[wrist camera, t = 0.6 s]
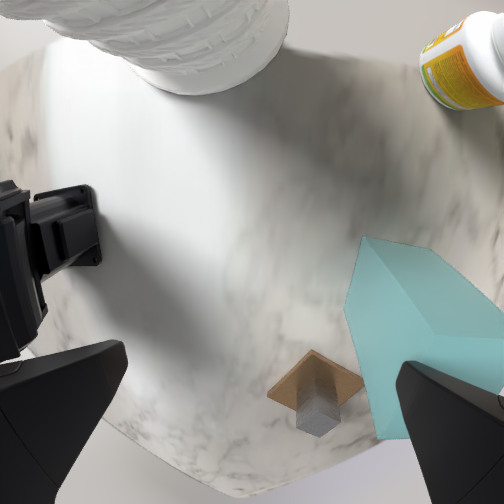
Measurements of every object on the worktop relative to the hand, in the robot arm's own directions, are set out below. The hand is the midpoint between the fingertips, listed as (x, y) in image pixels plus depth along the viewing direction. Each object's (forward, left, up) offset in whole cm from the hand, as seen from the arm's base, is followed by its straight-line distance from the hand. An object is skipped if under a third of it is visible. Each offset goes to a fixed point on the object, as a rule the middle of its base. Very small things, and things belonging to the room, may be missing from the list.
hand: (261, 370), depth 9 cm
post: (+3, -13, -13) cm, 18 cm away
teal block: (+8, -3, -13) cm, 15 cm away
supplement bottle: (+13, +12, -13) cm, 22 cm away
